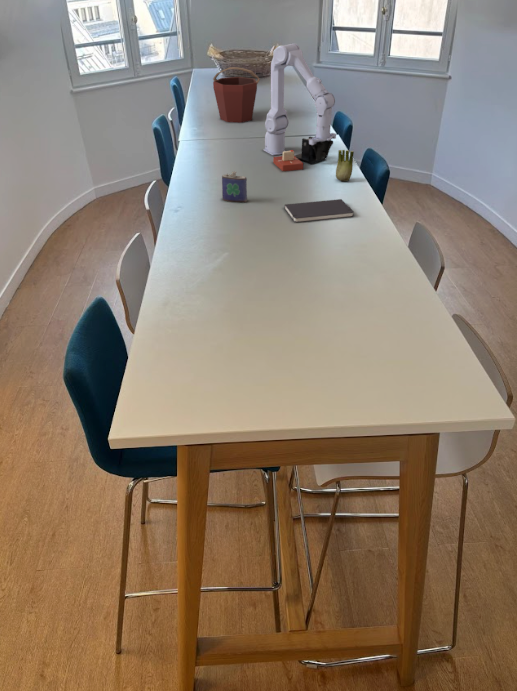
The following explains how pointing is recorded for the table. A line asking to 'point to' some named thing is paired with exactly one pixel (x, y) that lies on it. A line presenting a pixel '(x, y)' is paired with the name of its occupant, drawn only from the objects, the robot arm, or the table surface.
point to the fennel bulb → (344, 165)
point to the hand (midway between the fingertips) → (321, 158)
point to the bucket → (235, 96)
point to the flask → (234, 188)
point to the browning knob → (288, 155)
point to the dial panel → (288, 164)
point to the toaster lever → (322, 151)
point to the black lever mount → (308, 153)
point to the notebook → (318, 210)
